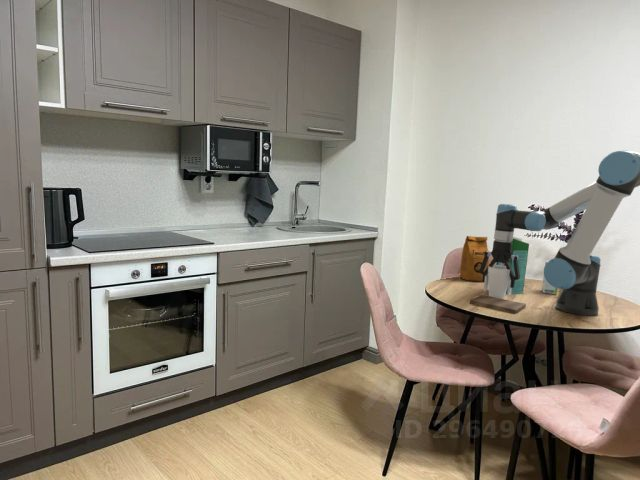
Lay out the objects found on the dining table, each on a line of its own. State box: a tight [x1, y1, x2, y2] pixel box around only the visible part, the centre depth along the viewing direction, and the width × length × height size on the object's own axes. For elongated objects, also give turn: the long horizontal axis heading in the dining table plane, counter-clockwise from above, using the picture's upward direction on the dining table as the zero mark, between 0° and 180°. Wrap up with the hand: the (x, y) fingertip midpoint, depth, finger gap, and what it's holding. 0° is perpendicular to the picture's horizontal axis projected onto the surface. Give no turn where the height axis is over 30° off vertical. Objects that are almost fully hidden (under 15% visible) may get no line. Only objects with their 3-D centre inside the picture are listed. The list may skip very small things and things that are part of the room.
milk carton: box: [495, 236, 530, 295], centre depth 219 cm, size 9×9×25 cm
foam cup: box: [488, 264, 510, 299], centre depth 207 cm, size 10×9×13 cm
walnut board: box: [469, 294, 527, 315], centre depth 194 cm, size 18×13×2 cm
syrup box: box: [541, 260, 558, 295], centre depth 223 cm, size 6×6×14 cm
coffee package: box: [459, 235, 490, 282], centre depth 239 cm, size 10×12×22 cm
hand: (497, 292), depth 208 cm, fingers closed on foam cup, 9 cm apart
